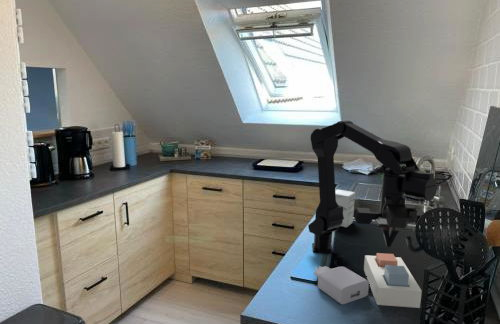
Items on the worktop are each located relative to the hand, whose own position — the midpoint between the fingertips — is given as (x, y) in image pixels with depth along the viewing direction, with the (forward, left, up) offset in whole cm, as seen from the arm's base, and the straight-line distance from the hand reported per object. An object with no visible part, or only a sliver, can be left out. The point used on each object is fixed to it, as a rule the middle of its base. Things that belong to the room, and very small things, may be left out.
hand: (388, 246), depth 104 cm
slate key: (+10, 0, -6) cm, 12 cm away
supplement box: (-43, -7, -10) cm, 45 cm away
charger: (+7, -15, -10) cm, 19 cm away
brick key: (0, 0, -8) cm, 8 cm away
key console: (+5, 0, -9) cm, 10 cm away
